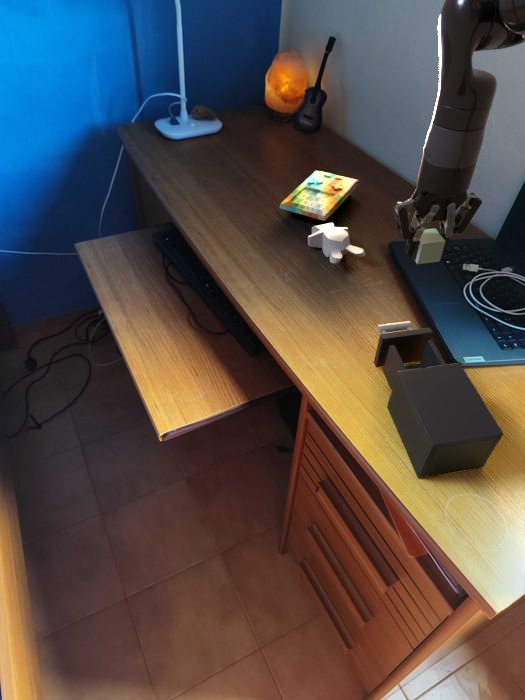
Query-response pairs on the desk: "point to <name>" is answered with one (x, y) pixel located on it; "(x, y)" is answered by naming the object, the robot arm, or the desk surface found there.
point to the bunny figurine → (333, 241)
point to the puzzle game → (319, 195)
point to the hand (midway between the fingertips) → (424, 255)
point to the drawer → (405, 349)
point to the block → (430, 247)
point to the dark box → (442, 420)
